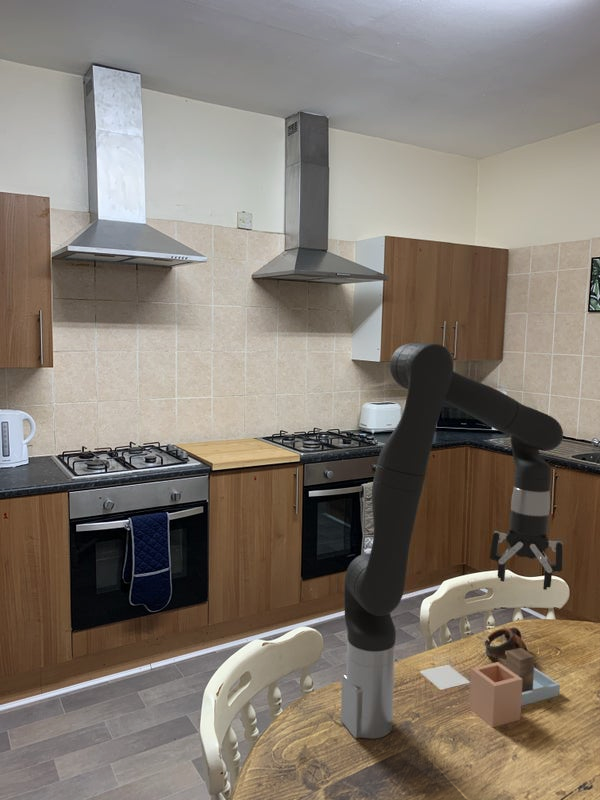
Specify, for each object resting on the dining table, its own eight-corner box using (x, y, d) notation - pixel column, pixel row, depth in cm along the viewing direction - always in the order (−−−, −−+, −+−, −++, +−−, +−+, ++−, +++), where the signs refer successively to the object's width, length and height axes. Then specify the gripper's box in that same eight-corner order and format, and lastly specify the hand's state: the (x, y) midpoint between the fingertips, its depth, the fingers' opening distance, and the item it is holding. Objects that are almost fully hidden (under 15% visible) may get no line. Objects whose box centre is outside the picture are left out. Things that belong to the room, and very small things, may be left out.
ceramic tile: (440, 692, 131) (440, 689, 131) (419, 673, 139) (419, 671, 139) (470, 684, 135) (470, 682, 135) (448, 667, 142) (448, 664, 142)
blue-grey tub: (511, 711, 125) (512, 697, 125) (478, 685, 134) (479, 672, 134) (559, 697, 130) (559, 684, 130) (524, 674, 139) (525, 661, 139)
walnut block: (518, 696, 130) (520, 659, 129) (504, 686, 133) (506, 651, 133) (532, 692, 131) (534, 656, 131) (519, 682, 135) (521, 647, 134)
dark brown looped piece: (530, 678, 139) (513, 647, 139) (492, 682, 145) (475, 652, 144) (538, 643, 149) (522, 614, 148) (503, 649, 154) (487, 621, 154)
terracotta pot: (492, 730, 119) (494, 686, 118) (468, 710, 125) (470, 668, 124) (520, 722, 122) (522, 679, 121) (495, 703, 128) (498, 661, 127)
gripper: (492, 508, 128) (486, 583, 129) (566, 519, 122) (559, 597, 124) (496, 500, 135) (490, 572, 136) (566, 510, 129) (560, 585, 130)
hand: (523, 584), depth 130 cm, fingers open, 8 cm apart
